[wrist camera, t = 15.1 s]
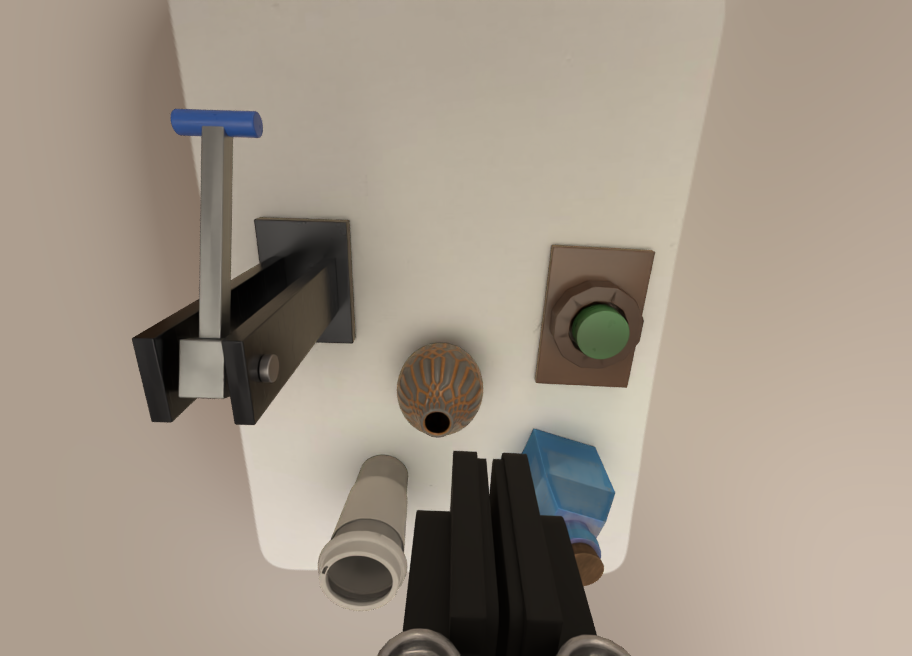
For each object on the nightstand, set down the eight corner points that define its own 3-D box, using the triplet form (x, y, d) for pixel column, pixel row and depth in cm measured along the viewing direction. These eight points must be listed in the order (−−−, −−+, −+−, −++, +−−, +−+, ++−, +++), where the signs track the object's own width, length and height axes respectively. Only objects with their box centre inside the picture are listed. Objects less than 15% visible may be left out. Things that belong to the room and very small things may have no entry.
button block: (551, 244, 37) (557, 251, 35) (652, 249, 37) (664, 256, 35) (534, 379, 41) (539, 393, 39) (624, 384, 42) (634, 398, 39)
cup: (366, 433, 44) (333, 532, 32) (430, 460, 45) (421, 565, 33) (338, 488, 46) (299, 599, 35) (400, 513, 47) (382, 627, 36)
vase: (393, 341, 40) (375, 391, 32) (471, 324, 40) (474, 370, 31) (414, 409, 43) (403, 472, 34) (488, 394, 42) (495, 454, 34)
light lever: (191, 119, 24) (162, 98, 22) (268, 122, 24) (247, 101, 22) (187, 389, 25) (158, 397, 22) (263, 391, 25) (242, 400, 22)
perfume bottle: (533, 428, 43) (559, 527, 32) (595, 447, 44) (640, 550, 33) (509, 479, 45) (525, 589, 34) (568, 497, 46) (602, 609, 35)
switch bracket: (259, 217, 37) (92, 276, 20) (349, 219, 37) (257, 281, 20) (274, 335, 40) (142, 469, 24) (355, 338, 40) (281, 473, 24)
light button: (575, 302, 37) (580, 309, 35) (626, 304, 37) (634, 312, 35) (568, 349, 38) (573, 358, 36) (617, 351, 38) (624, 360, 36)
